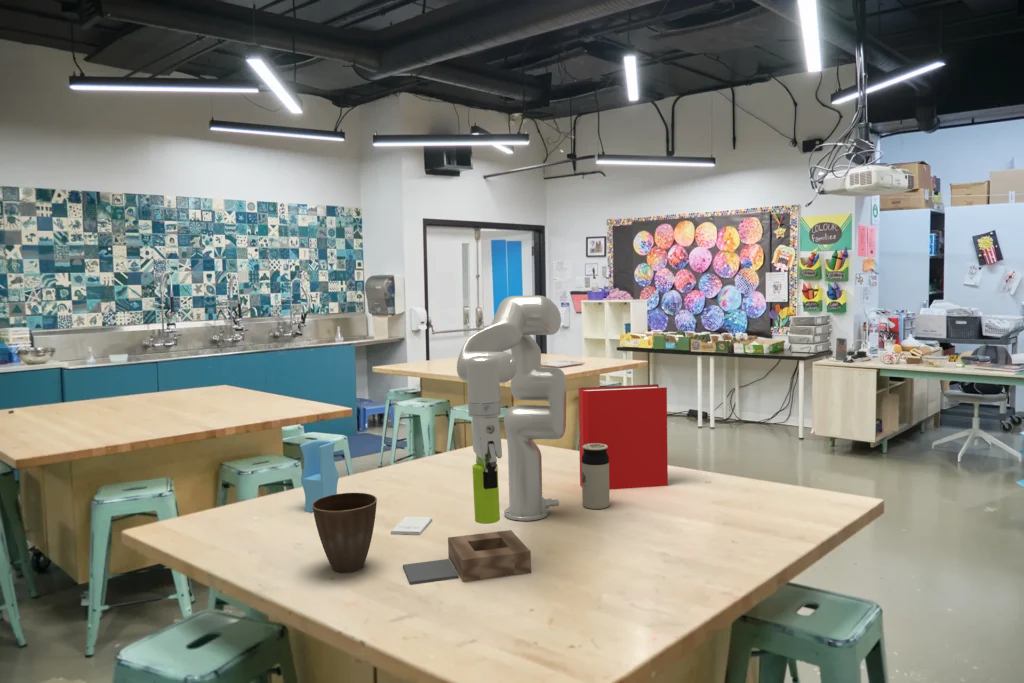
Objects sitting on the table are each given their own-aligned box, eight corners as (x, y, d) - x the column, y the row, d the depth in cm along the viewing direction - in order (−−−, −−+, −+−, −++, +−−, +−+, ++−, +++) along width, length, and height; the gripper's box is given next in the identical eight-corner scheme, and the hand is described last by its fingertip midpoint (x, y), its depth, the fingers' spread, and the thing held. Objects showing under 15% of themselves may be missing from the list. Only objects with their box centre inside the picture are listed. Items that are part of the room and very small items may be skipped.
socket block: (511, 549, 189) (511, 530, 189) (531, 572, 174) (530, 551, 174) (448, 557, 185) (447, 537, 185) (462, 581, 170) (462, 559, 169)
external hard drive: (432, 522, 214) (420, 537, 202) (404, 522, 216) (390, 536, 204) (432, 517, 214) (419, 531, 202) (404, 516, 216) (390, 530, 203)
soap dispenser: (504, 515, 182) (501, 433, 180) (494, 524, 175) (490, 439, 174) (482, 514, 184) (478, 432, 182) (471, 522, 177) (467, 438, 176)
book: (659, 479, 253) (658, 384, 250) (667, 485, 245) (666, 387, 242) (579, 484, 249) (577, 387, 246) (585, 491, 241) (583, 391, 238)
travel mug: (609, 501, 228) (608, 442, 227) (610, 509, 220) (609, 448, 219) (582, 501, 229) (581, 443, 228) (582, 509, 221) (581, 448, 220)
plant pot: (348, 584, 170) (345, 514, 169) (301, 572, 178) (298, 505, 177) (392, 562, 183) (389, 497, 181) (347, 552, 190) (344, 489, 189)
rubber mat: (448, 561, 182) (448, 558, 182) (458, 577, 172) (458, 575, 172) (402, 567, 179) (402, 564, 179) (410, 584, 169) (409, 581, 169)
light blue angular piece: (302, 511, 227) (299, 445, 225) (318, 503, 234) (315, 439, 232) (324, 513, 224) (321, 446, 222) (339, 506, 231) (337, 441, 230)
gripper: (510, 413, 170) (512, 492, 171) (490, 401, 186) (492, 473, 188) (477, 416, 168) (480, 496, 169) (460, 404, 184) (463, 476, 186)
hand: (486, 483), depth 179 cm, fingers closed on soap dispenser, 5 cm apart
